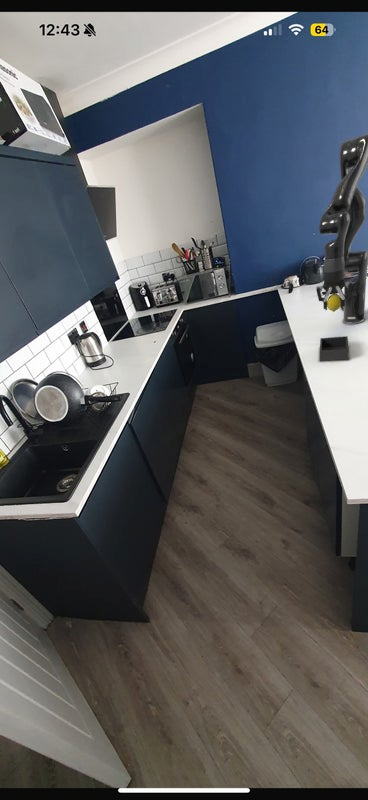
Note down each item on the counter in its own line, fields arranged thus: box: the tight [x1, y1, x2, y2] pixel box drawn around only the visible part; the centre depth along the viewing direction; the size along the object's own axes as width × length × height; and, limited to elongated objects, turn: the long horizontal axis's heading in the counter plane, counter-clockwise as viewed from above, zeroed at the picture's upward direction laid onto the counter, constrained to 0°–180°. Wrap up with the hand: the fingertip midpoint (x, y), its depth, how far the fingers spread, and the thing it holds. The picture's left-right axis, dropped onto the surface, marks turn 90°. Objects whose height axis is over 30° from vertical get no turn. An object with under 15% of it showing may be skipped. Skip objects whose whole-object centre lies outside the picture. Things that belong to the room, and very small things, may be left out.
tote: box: [319, 335, 350, 362], centre depth 134 cm, size 13×11×5 cm
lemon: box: [327, 293, 341, 313], centre depth 133 cm, size 6×6×8 cm
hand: (333, 308), depth 134 cm, fingers closed on lemon, 5 cm apart
